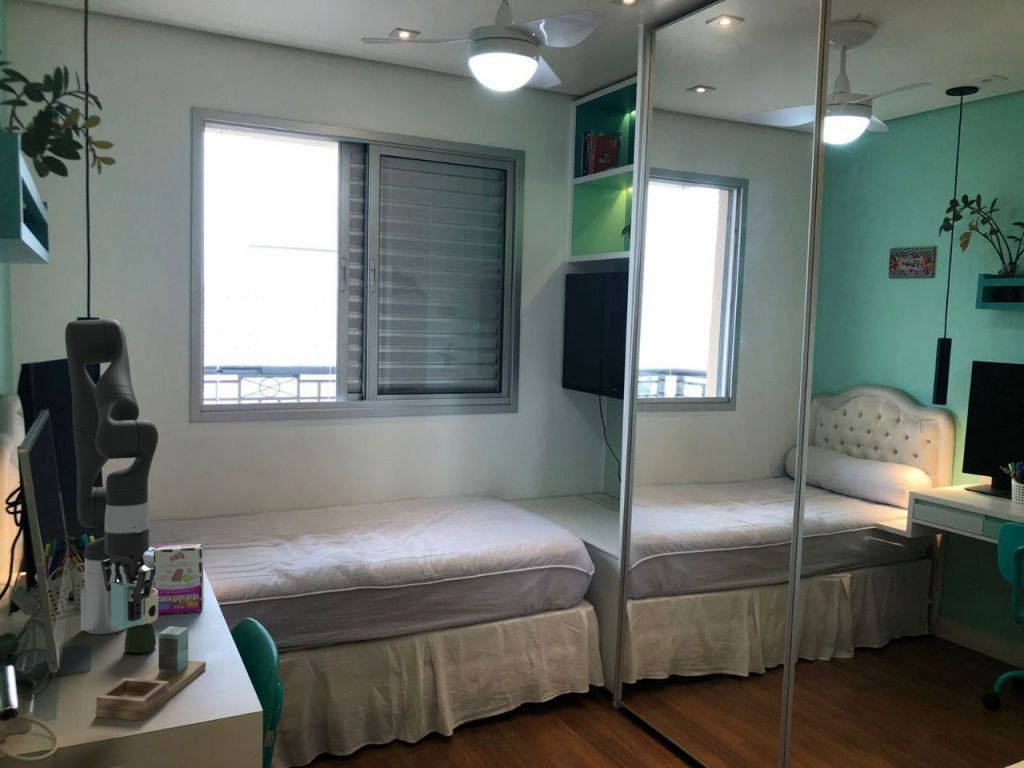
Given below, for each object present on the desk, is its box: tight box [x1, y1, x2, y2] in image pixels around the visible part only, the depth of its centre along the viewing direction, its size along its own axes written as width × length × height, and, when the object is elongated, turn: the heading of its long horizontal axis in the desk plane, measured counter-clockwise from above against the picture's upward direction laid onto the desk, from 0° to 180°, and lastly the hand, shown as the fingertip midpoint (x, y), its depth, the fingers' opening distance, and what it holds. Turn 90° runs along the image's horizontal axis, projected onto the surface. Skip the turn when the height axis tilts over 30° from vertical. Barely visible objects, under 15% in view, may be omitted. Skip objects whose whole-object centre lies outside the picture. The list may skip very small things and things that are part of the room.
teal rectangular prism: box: [111, 581, 145, 630], centre depth 152 cm, size 4×4×8 cm
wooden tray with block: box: [95, 625, 207, 722], centre depth 157 cm, size 9×23×10 cm, turn 173°
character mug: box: [123, 588, 159, 654], centre depth 177 cm, size 11×7×13 cm, turn 13°
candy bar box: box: [154, 543, 205, 616], centre depth 202 cm, size 11×5×16 cm, turn 105°
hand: (127, 617), depth 152 cm, fingers closed on teal rectangular prism, 4 cm apart
